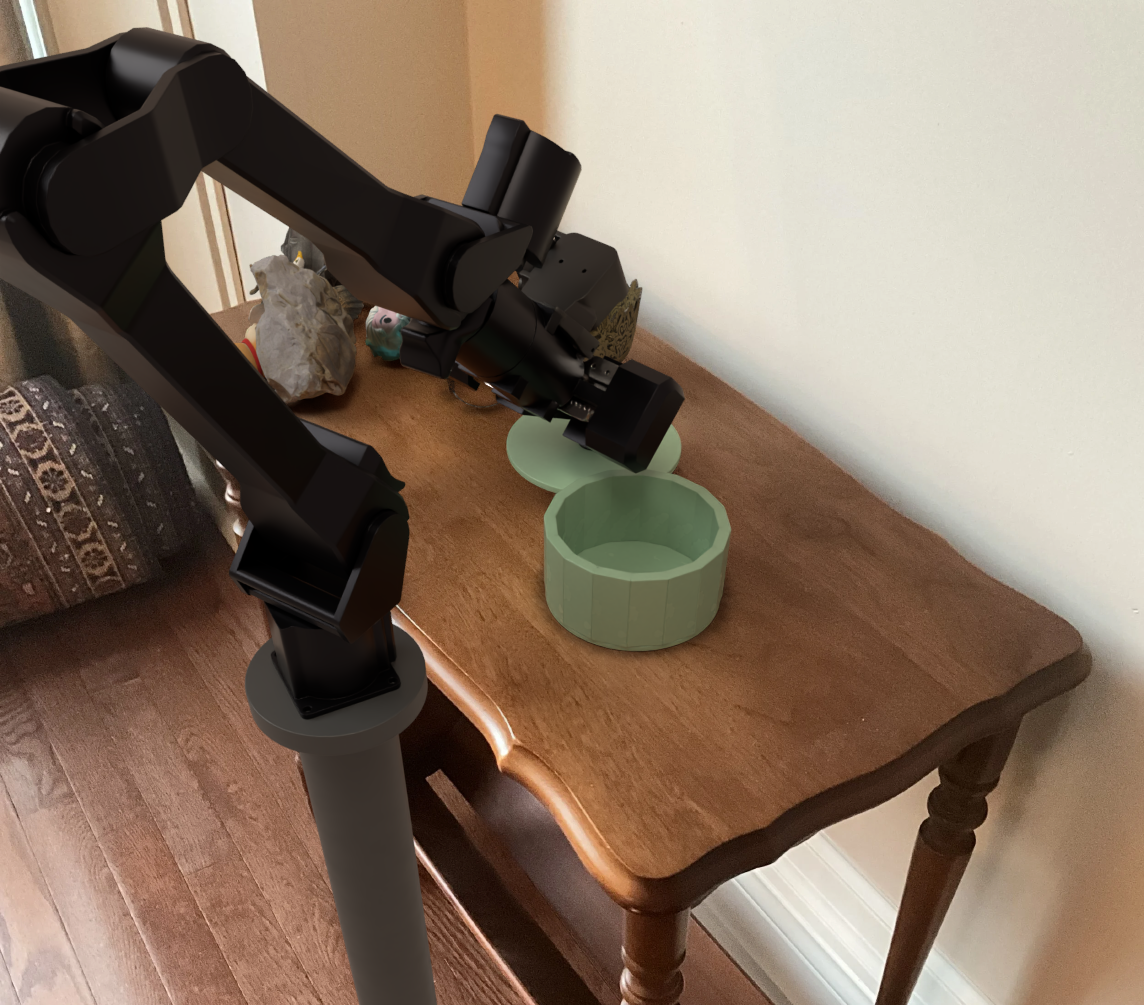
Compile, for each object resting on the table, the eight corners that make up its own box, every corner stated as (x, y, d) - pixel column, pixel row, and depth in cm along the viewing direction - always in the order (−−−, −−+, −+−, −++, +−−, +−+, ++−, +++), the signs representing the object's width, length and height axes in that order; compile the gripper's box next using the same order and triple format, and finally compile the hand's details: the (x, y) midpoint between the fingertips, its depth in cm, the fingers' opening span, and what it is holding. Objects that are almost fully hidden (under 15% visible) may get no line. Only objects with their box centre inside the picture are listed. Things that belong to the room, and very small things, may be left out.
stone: (382, 405, 99) (346, 372, 89) (302, 431, 100) (258, 401, 90) (345, 275, 98) (305, 228, 88) (265, 302, 99) (216, 259, 89)
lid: (608, 528, 81) (612, 452, 77) (470, 460, 87) (466, 385, 82) (714, 449, 88) (723, 375, 83) (580, 391, 93) (581, 318, 89)
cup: (531, 377, 99) (529, 285, 93) (594, 348, 102) (597, 258, 96) (590, 412, 95) (593, 319, 89) (654, 381, 99) (661, 289, 93)
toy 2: (448, 315, 110) (285, 299, 108) (452, 251, 109) (288, 233, 107) (447, 289, 101) (271, 271, 100) (451, 219, 101) (274, 200, 99)
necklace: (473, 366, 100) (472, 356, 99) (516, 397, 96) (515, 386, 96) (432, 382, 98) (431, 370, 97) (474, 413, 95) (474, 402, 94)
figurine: (383, 282, 89) (306, 302, 92) (427, 395, 94) (353, 410, 97) (447, 232, 97) (374, 253, 101) (485, 339, 102) (414, 355, 106)
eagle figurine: (295, 245, 105) (373, 270, 102) (283, 327, 108) (359, 354, 105) (234, 234, 99) (316, 261, 95) (223, 321, 101) (302, 350, 98)
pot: (597, 673, 74) (600, 601, 70) (515, 568, 82) (513, 497, 77) (754, 617, 78) (766, 546, 74) (662, 521, 85) (668, 451, 81)
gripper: (678, 258, 67) (765, 365, 81) (453, 169, 75) (566, 280, 89) (584, 433, 69) (684, 509, 83) (374, 327, 77) (497, 412, 91)
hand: (606, 420), depth 86 cm, fingers closed on lid, 2 cm apart
